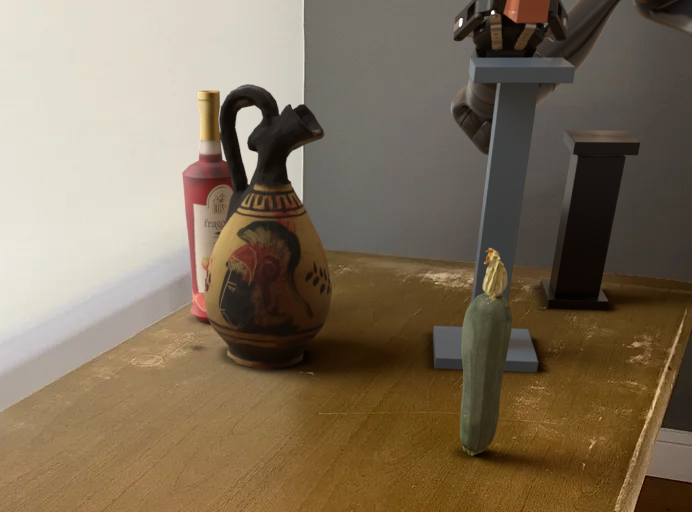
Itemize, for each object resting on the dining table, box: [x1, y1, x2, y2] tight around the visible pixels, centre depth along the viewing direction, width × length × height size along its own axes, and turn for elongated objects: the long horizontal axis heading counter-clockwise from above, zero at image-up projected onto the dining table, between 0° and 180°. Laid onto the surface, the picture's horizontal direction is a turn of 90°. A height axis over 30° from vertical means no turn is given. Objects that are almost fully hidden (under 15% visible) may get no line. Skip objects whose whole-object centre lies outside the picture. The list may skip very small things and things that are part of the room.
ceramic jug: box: [204, 83, 333, 370], centre depth 112 cm, size 17×15×30 cm
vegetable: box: [459, 248, 513, 457], centre depth 90 cm, size 4×4×20 cm
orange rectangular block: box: [502, 0, 550, 24], centre depth 102 cm, size 20×3×3 cm, turn 172°
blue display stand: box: [432, 57, 576, 373], centre depth 111 cm, size 12×12×32 cm
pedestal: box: [539, 129, 641, 312], centre depth 131 cm, size 10×8×22 cm
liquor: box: [181, 89, 233, 324], centre depth 125 cm, size 7×7×28 cm
